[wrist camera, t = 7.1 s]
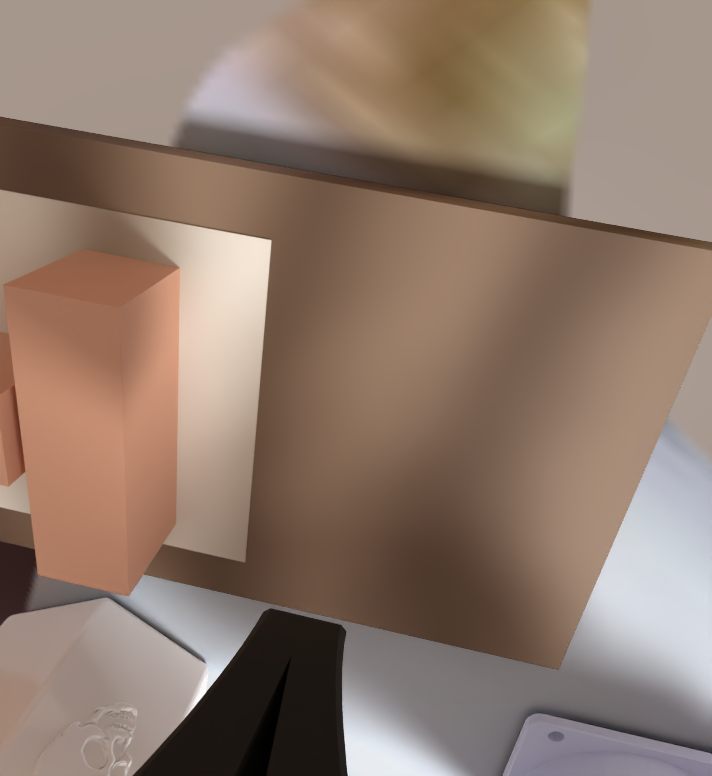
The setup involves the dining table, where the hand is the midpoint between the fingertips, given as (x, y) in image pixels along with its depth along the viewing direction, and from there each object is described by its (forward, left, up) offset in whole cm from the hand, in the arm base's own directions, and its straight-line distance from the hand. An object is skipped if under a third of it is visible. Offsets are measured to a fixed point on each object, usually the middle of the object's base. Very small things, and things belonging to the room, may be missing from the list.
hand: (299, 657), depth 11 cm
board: (+3, 0, -8) cm, 8 cm away
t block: (+9, 0, -7) cm, 11 cm away
